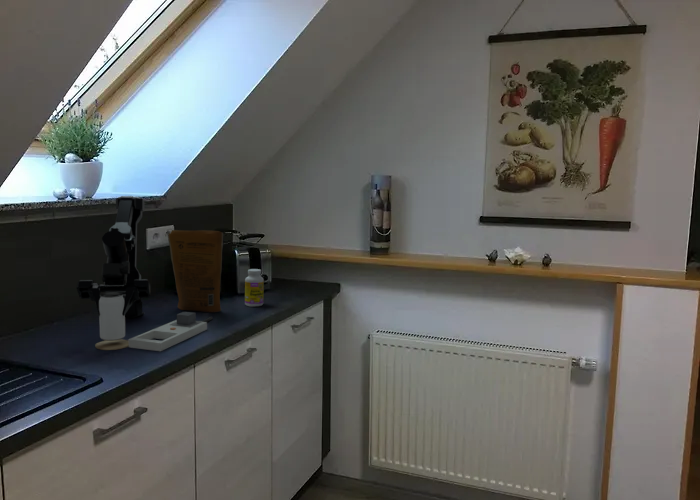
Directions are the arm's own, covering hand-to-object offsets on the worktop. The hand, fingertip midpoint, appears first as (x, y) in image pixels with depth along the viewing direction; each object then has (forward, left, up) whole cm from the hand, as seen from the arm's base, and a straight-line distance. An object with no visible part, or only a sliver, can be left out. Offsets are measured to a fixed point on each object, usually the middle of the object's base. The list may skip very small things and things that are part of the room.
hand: (111, 315), depth 163 cm
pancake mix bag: (-1, +46, -9) cm, 46 cm away
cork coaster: (-1, +1, -9) cm, 9 cm away
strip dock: (+9, +13, -9) cm, 18 cm away
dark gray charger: (+9, +22, -6) cm, 24 cm away
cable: (+10, +31, -9) cm, 34 cm away
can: (-1, +1, -7) cm, 7 cm away
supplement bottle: (+13, +61, -9) cm, 62 cm away
